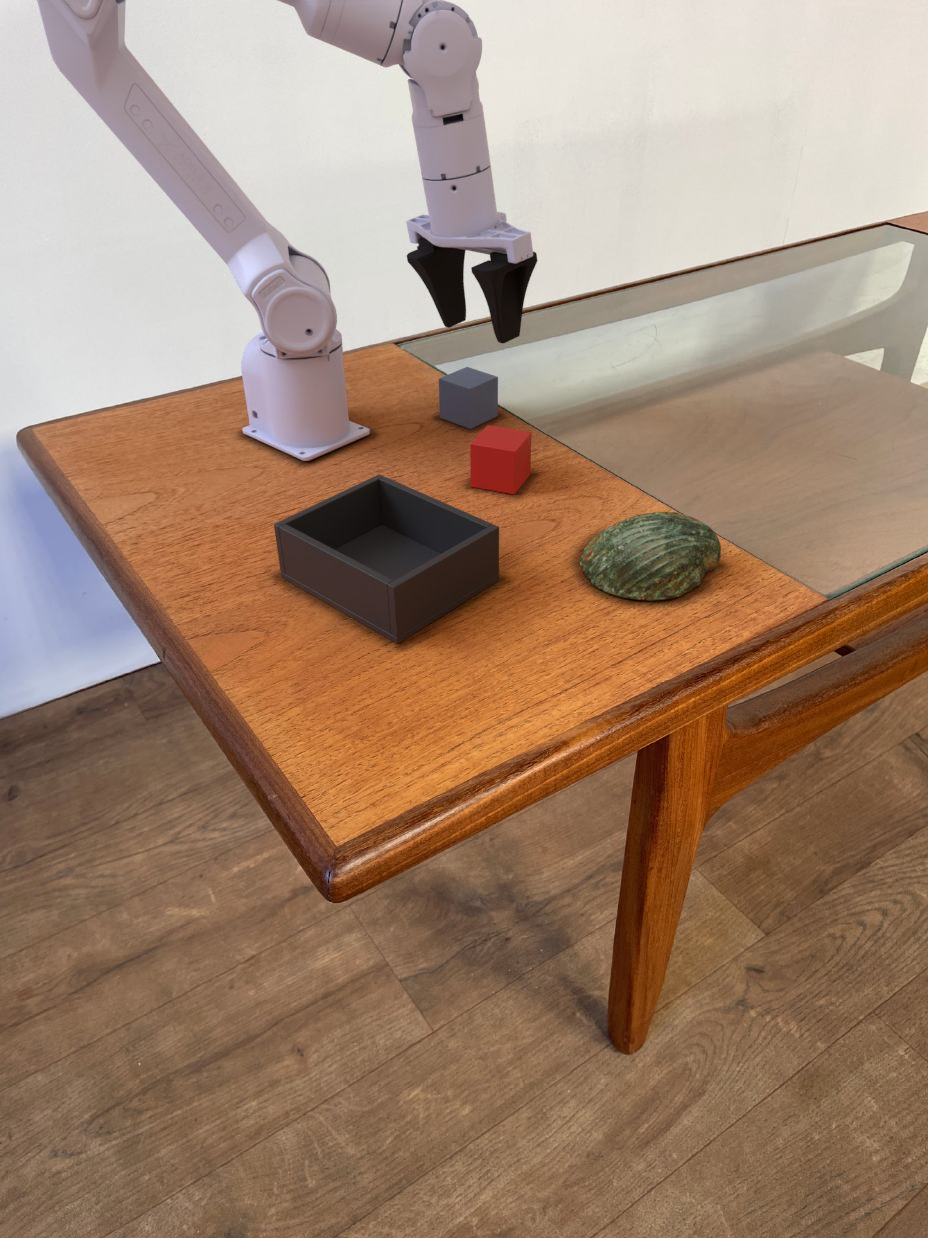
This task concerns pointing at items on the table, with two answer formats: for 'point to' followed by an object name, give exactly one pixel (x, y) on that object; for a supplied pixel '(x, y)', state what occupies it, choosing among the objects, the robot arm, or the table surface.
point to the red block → (500, 459)
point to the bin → (388, 555)
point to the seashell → (651, 556)
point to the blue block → (468, 397)
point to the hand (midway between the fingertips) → (481, 330)
